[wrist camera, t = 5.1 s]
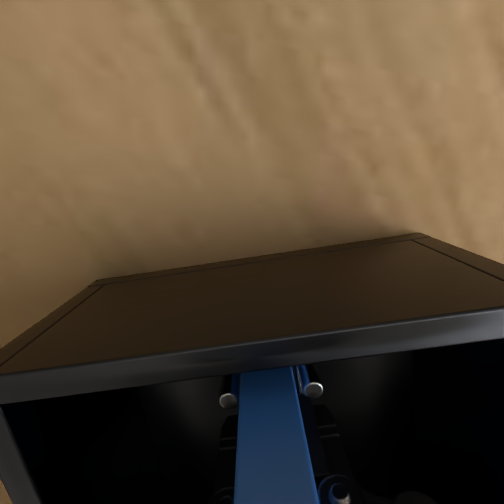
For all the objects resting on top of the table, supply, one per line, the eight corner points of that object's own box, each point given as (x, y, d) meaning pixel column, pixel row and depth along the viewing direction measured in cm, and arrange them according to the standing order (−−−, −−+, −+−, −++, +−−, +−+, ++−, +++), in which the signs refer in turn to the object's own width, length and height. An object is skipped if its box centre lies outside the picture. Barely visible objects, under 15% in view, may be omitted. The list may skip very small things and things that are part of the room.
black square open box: (95, 280, 15) (-49, 381, 8) (420, 232, 14) (590, 295, 7) (167, 514, 19) (116, 721, 12) (422, 485, 18) (530, 686, 11)
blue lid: (244, 302, 14) (227, 584, 5) (278, 297, 14) (333, 573, 4) (267, 437, 16) (290, 827, 7) (297, 434, 16) (364, 823, 7)
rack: (226, 321, 14) (214, 385, 10) (301, 310, 14) (322, 372, 10) (246, 428, 16) (245, 523, 12) (314, 420, 16) (337, 513, 12)
